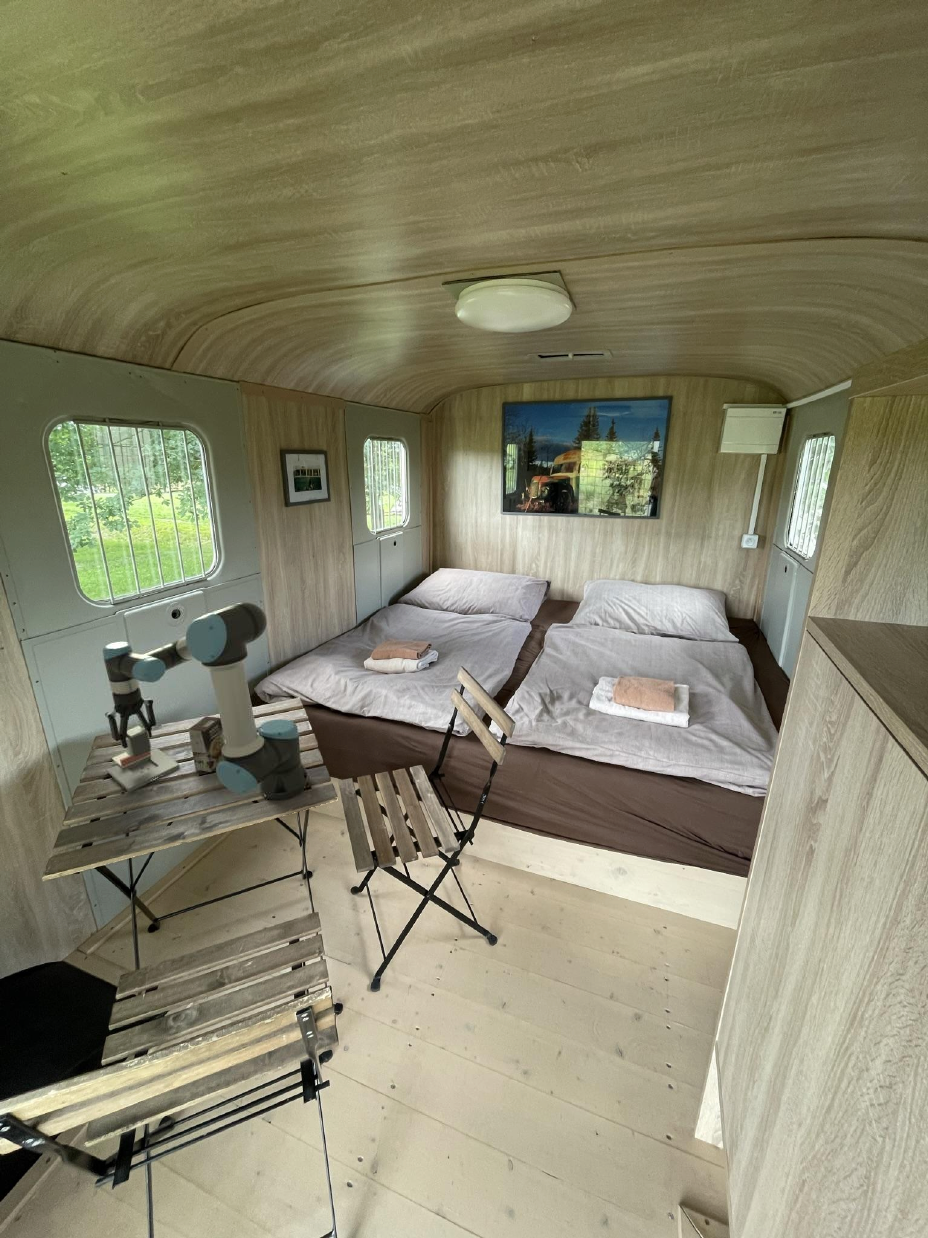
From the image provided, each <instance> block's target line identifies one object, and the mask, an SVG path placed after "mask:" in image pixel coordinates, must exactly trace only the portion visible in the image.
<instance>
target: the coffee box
mask: <svg viewBox="0 0 928 1238" xmlns="http://www.w3.org/2000/svg"><path fill="white" fill-rule="evenodd" d="M188 734H189V741H190V745H191V752H192V758H193V762H194V763H193V764H194V769H195V770H199V771H204V772H209V773H212V772H213V770H215V769H216V767H217V766H218V764H219V763H220V762H221V761H223V755H222V747H223V746H224V745H225V743H226V742H225V737H224V733H223V728H222V724H221V719H220V717H214V716H208V715H207V716H204V717H203V718H201V719H200V720H199V721H197V722H196V723H195V724H194V725H192V726H191V727H190V728H188Z"/></svg>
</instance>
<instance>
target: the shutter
mask: <svg viewBox="0 0 928 1238" xmlns="http://www.w3.org/2000/svg"><path fill="white" fill-rule="evenodd" d="M149 756H151V753H150V751H149V752H146V753H144V754H142V755H140V756H137V757H134V756H129V755H128V754H127V752H126V751H125V752H122V753H121V754H118V755H116V756H113V757H112V760H113V762H115V763H116V765H120V766H121V767H122V768H125V767H127V766H129V765H132V764H134V763H136V762H138V761H140V760H143V759H145V758H147V757H149Z"/></svg>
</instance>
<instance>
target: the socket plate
mask: <svg viewBox="0 0 928 1238" xmlns="http://www.w3.org/2000/svg"><path fill="white" fill-rule="evenodd" d="M150 753H151V756H149V757H147V758H145V759H143V760H140V761H138V762H136V763H134V764H132V765H129V766H127V767H125V768H122V767H121V766H120V765H118V764H116V765H114V766H112V767H109V768H107V769H106V773H107V772H108V773H109V774H110V775H111V776H112V777H113V778H112V777H111V776H110V775H109V774H108V773H107V774H108V775H109V776H110V777H111V778H112V779H113V780H115V782H117V783H118V784H119V783H120V784H121V785H122V786H121V785H120V784H119V785H120V786H121V787H123V788H124V787H125V788H124V789H125V790H126V791H127V792H128V793H131V792H133V791H136V790H138V789H140V788H141V787H144V786H145V785H148V784H149V782H150V781H151V780H153V779H155V778H157V777H160V776H161V775H164V774H166V775H168V774H170V773H172V772H175V771H176V770H178V769H181V765H180V764H179V763H178V762H177V761H175V760H174V759H173V758H171V756H168V755H167V754H165V753H164V752H163V751H162V750H160V749H159V748H158V747H155V748H151V751H150ZM169 772H170V773H169ZM167 773H168V774H167ZM164 776H165V775H164ZM160 778H161V777H160ZM147 783H148V784H147ZM150 783H151V782H150Z"/></svg>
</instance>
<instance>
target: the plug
mask: <svg viewBox="0 0 928 1238" xmlns="http://www.w3.org/2000/svg"><path fill="white" fill-rule="evenodd" d="M144 729H145V728H144V727H141V726H140V725H137V726H134V727H133V728H129V729H127V737H128V738H129V740H130V744H131V748H132V753H133V756H134V757H137V756H140V755H142V754H144V753H146V752H149V751H151V750H152V748H150V744H149V739H148V734H147V732H146V731H145V730H144Z"/></svg>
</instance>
